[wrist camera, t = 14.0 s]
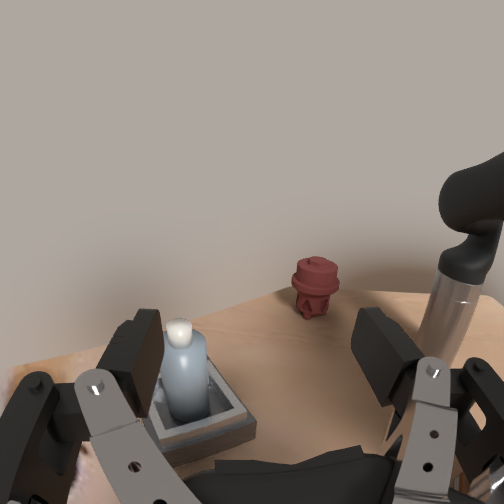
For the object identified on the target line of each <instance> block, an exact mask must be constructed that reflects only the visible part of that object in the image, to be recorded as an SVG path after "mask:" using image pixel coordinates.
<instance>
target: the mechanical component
mask: <svg viewBox="0 0 504 504" xmlns="http://www.w3.org/2000/svg"><path fill="white" fill-rule="evenodd" d="M337 270H338V266H337V265H336V264H335V263H333V262H331V261H329V260H327V259H325V258H323V257H316V256H315V257H310V258H305V259H302V260H299V261H298V263H297V272H296V273H294V274H293V276H292V282H291V283H292V286H293V287H294V288H295V289H296V290H298V294H297V301H296V307H297V308H298V309H299V310H300V311H302V312H304V315H303V318H304V319H310V318H312V317H314V316H317V315H324V314H326V311H327V310H328V305H329V299H330V295H331V294H333V293H335V292H336V291H337V290H338V289H339V280H338V278H337Z"/></svg>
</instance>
